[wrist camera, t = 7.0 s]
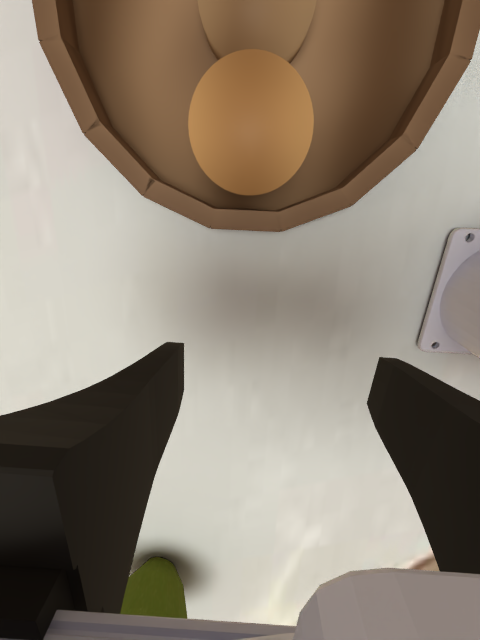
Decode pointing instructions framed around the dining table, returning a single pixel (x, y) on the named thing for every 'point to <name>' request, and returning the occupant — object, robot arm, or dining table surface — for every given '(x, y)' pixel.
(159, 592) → the apple
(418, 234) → the dining table surface
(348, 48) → the ring tray
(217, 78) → the brown wooden cylinder
